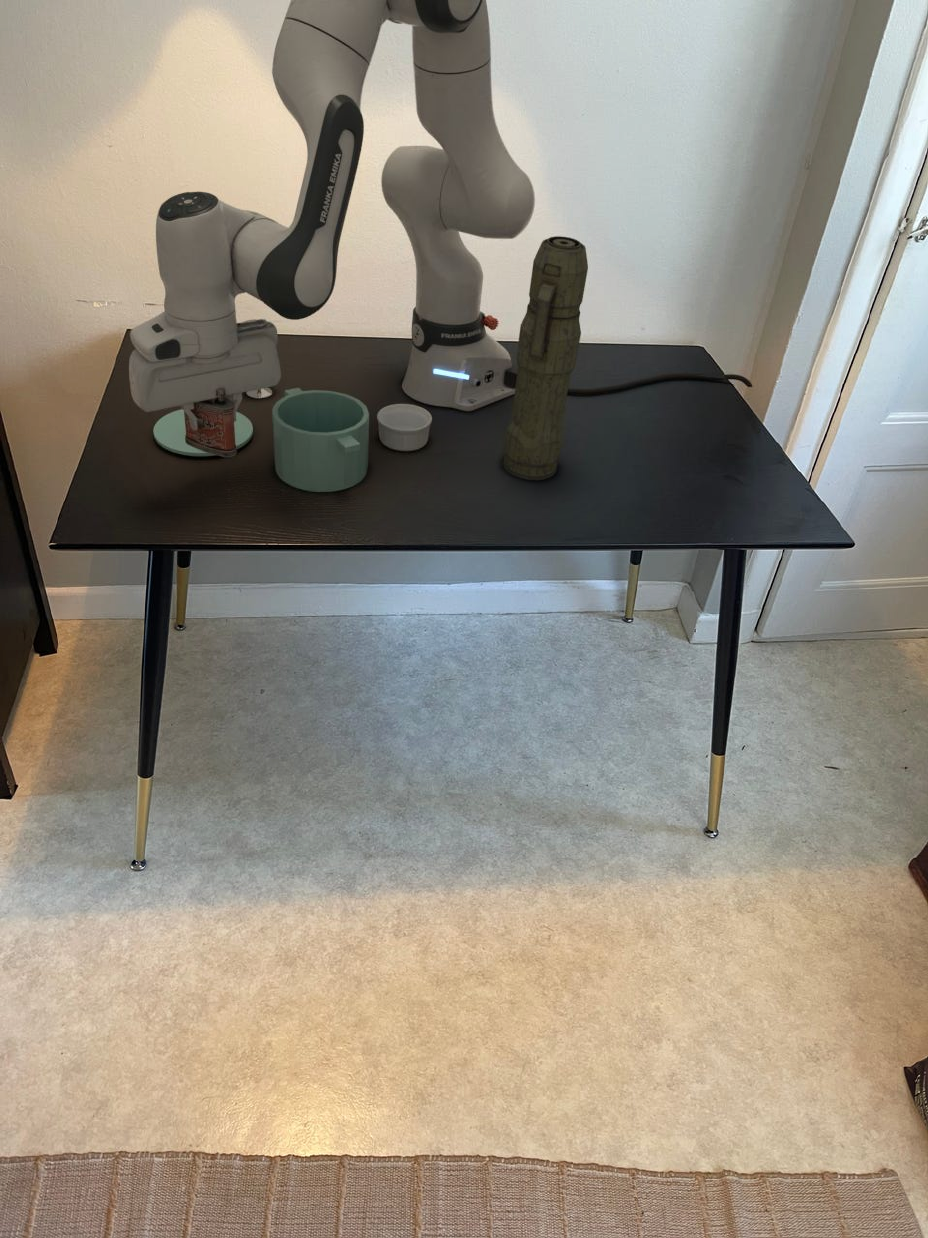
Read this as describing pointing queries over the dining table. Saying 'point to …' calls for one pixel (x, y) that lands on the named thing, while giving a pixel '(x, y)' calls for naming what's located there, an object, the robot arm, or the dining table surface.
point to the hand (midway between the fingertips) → (213, 424)
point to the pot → (320, 440)
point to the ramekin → (404, 426)
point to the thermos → (546, 358)
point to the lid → (173, 433)
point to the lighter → (213, 426)
